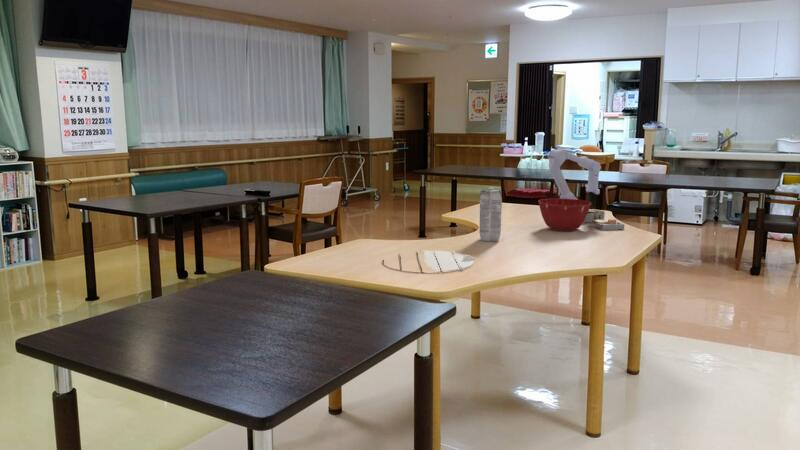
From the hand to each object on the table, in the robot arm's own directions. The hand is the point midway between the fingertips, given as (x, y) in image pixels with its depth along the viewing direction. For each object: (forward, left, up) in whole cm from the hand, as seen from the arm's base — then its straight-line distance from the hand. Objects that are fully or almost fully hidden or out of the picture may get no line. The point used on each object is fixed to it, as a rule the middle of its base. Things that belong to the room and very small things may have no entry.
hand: (591, 205), depth 367 cm
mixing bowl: (-25, -21, -10) cm, 34 cm away
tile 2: (+3, -19, -7) cm, 21 cm away
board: (+1, -15, -10) cm, 18 cm away
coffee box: (+7, +4, -7) cm, 10 cm away
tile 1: (-2, -24, -7) cm, 25 cm away
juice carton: (-73, -46, -10) cm, 87 cm away
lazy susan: (-111, -89, -10) cm, 143 cm away
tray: (+1, -23, -10) cm, 25 cm away
